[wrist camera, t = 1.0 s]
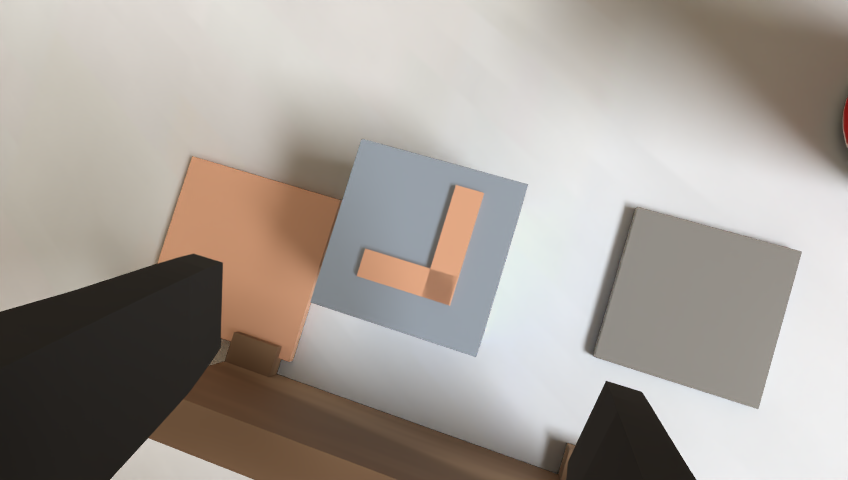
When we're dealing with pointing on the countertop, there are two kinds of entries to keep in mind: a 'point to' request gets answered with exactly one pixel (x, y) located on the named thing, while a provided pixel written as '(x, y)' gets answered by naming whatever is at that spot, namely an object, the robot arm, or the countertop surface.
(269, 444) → the walnut screen
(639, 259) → the grey slate tile
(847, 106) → the beverage can
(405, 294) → the lettered cube
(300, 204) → the terracotta tile
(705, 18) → the countertop surface
